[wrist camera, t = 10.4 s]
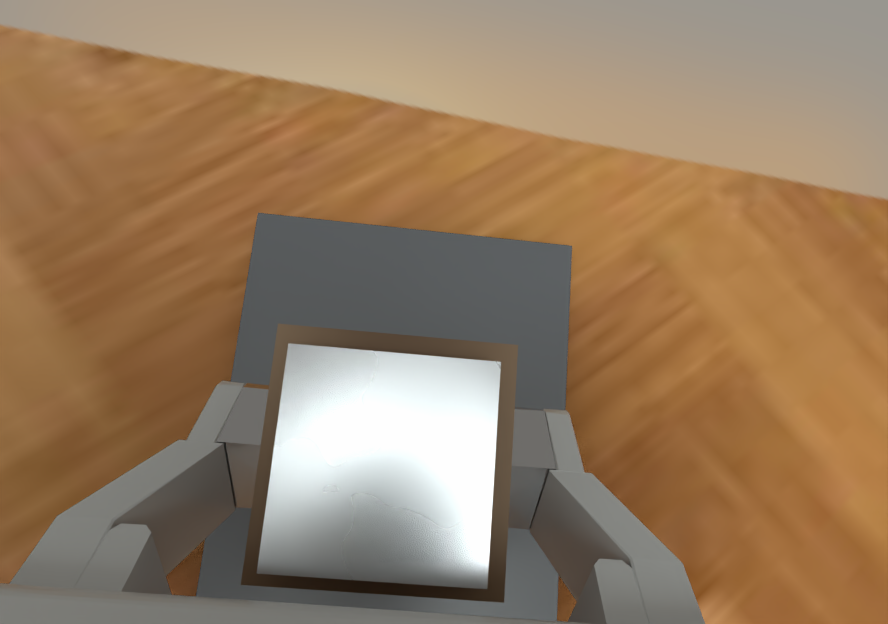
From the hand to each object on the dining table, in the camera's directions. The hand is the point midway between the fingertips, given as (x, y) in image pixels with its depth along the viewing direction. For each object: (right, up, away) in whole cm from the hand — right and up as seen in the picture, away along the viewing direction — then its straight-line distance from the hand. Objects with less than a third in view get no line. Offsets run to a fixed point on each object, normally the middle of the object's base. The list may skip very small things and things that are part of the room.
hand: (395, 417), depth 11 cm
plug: (0, -2, +4) cm, 5 cm away
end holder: (-1, -4, +15) cm, 15 cm away
